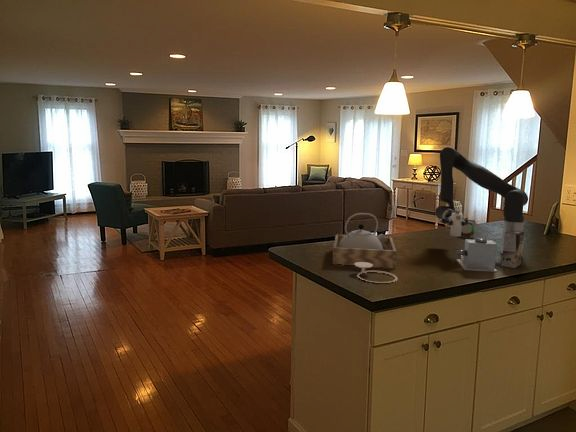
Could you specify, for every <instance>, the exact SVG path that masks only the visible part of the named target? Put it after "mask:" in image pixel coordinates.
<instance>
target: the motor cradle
mask: <svg viewBox="0 0 576 432" xmlns="http://www.w3.org/2000/svg"><path fill="white" fill-rule="evenodd" d="M464 241H465V242H464V249H456V253H455V254H456V256H461V257H460V258H461V259H460V258H459V259H456V262H457V263H458V264H459V265H460V266H461V268H462V269H463V270H464V271H471V272H472V271H476V272H492V273H494V272H495V273H498V270H497V269H496V268H495V267H496V260H497V251H498V250H497V247H498V244H497V243H496V242H495V241H494V240H490V239H489V240H488V239H487V238H482V237H475V238H474V239H468V238H466V239H464Z"/></svg>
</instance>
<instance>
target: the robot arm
mask: <svg viewBox="0 0 576 432" xmlns="http://www.w3.org/2000/svg"><path fill="white" fill-rule="evenodd" d="M439 162H440V191H439V192H440V193H439V200H440V202H443V203H446V204H447V205H448V206H446V205H438V206H437V207H436V208H435V210H434V212H435V217H436V218H437V219H439V222H440V223H442V224H444V225H446V224H447V225H448V226H450V227H451V225H452V223H453V221H452V220H451V218H452V213H455V210H456V208H455V203H454V195H455V193H454V192H455V191H454V190H455V187H454V186H455V184H454V178H453V177H454V176H453V168H454V169H456V170H458V171H460V172H461V173H463V174H464V175H465V176H466V177H467V178H468V179H469V180H470V181H472V182H473V183H475V184H476V185H477V186H479V187H481V188H483V189H485V190H488V191H489V192H490V191H491V192H493V193H496V194H498V195H499V196H501V197H503V199H504V200H503V209H502V210H503V211H502V212H503V224H502V225H503V227H502V236H501V246H500V253H501V254H502V255H503V246H504V236H505V232H507V231H509V230H513V231H522V232H524V223H525V216H524V214H523V212H524V207H525V206H526V205H527V203H528V202H529V196H528V194H527V192H526V191H524V190H522V189H521V188H519V187H516V186H514V185H513V184H510V183H508V182H507V181H505V180H503V179H502V178H501V177H500V176H498V175H496V174H495V173H494V172H492V171H491V170H489V169H487V168H486V167H485V166H482V165H481V164H478V163H476V162H473V161H471V160H469V159H468V158H466V157H465V156H464V155H463V154H462V153H460V152H459V150H457V149H455V148H453V147H451V146H446V147H444V148H443V149H441V150H440V153H439ZM468 220H469V218H468V217H464V219H463V218H462V226H464V225H467V224H468ZM524 239H525V238H524V236H523V240H524ZM523 246H524V244H523V245H522V249H523ZM521 256H523V253H522V254H521Z"/></svg>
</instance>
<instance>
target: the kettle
mask: <svg viewBox="0 0 576 432" xmlns="http://www.w3.org/2000/svg"><path fill="white" fill-rule="evenodd" d="M361 215H363V216H365V215H366V216H371V217H372V218H373V219H375V222H376V227H375V230H374V232H373V233H372V232H371V231H369V230H364V228H365V226H364V224H363V223H360V224H358V229H356V230H352V231H350V232H348V230H347V228H348V227H347V226H348V223H349V221H350V220H351V219H352V218H355V217H356V216H361ZM344 225H345V226H344V232H345V234H344V235H345V236H344V237H343V238H342V239H341V241H340V243H339V245H338V248H356V249H376V250H383V247H382V244H381V242H380V241H381V240H382V239H383V238H384V237H386V235H385V234H383V233H380V234H378V235H376V234H377V231H378V229H379V221H378V218H377V217H376V216H375V214H372V213H368V212H358V213H355V214H352V215H350V216H349V217H348V218H347V219H346V221H345V224H344ZM376 236H377V237H376Z"/></svg>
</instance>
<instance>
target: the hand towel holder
mask: <svg viewBox="0 0 576 432" xmlns="http://www.w3.org/2000/svg"><path fill="white" fill-rule="evenodd" d="M354 264H355V266H354V267H356V268H360V269H361V271H360V272H358V273H357V275H356V278H357V277H358V278H360V279H362V280H365V281H369V282H375V283H391V282H394V283H396V282H397V281H398V277H397V275H395V274H394V273H391V272H388V271H383V270H373V269H372V270H366V269H369V268H373V267H372V266H373V264H371V263H368V262H356V263H354ZM367 272H377V273H376V274H382V273H385V274H384V275H387V274H389V275H388V276H390V275H391V276H390V277H392V278H394V279H393V280H390V281H373V280H367V279H364V278H362V277H360V274H361V275H363V274H362V273H365V274H368V273H367ZM358 278H357V279H358ZM395 281H396V282H395ZM391 284H392V283H391Z"/></svg>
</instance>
